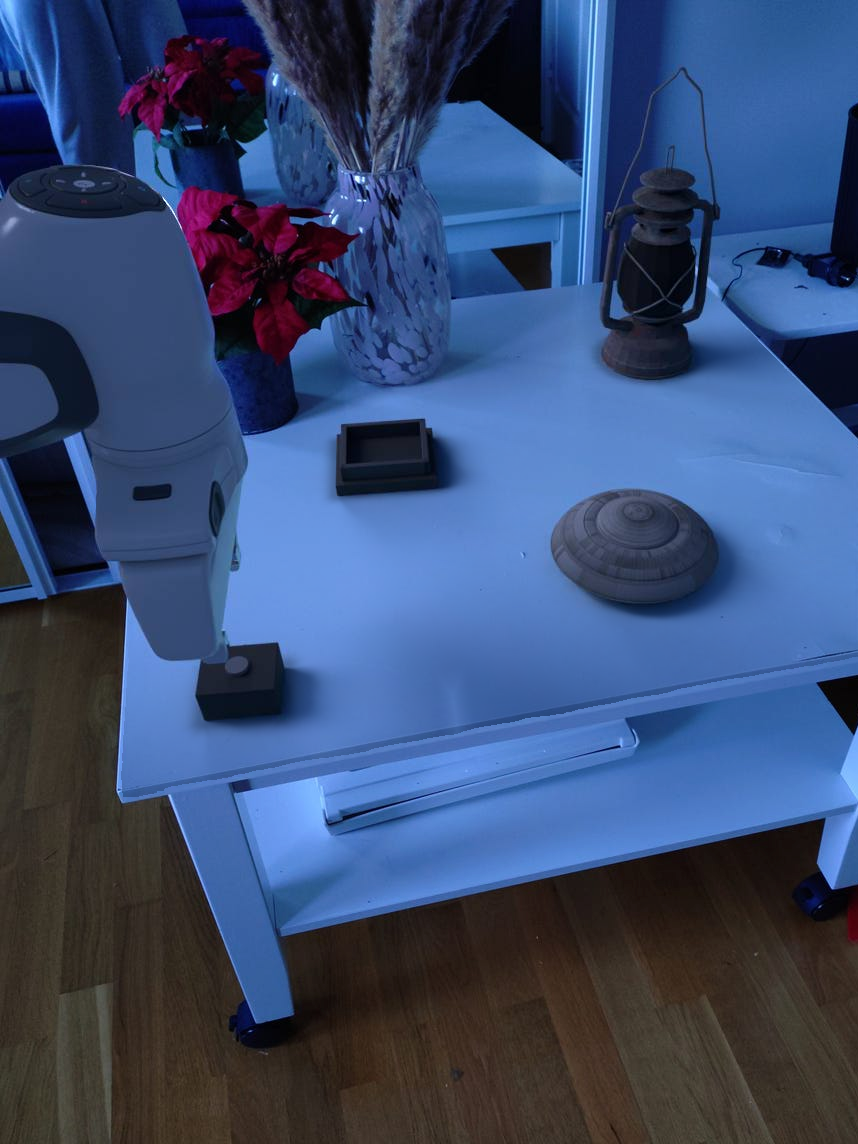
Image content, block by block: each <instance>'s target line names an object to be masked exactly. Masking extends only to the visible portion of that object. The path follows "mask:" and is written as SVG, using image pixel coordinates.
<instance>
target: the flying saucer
mask: <svg viewBox="0 0 858 1144" xmlns="http://www.w3.org/2000/svg"><path fill="white" fill-rule="evenodd" d="M550 551H551V556H552V558H553V561H554V563H555V564H556V566H557V567H558V569H559V571H561V573H562V574H563V575H564V576H565V577H566V578H567V579H568V580H570V581H571V582H572V583H573V584H575V585H576V586H578V587H579V588H581V589H583V590H584V591H586V592H588V593H590V594H593V595H595V596H597V597H600V598H603V599H606V600H610V601H614V602H619V603H626V604H635V605H636V604H641V605H643V604H645V605H646V604H659V603H665V602H668V601H669V602H670V601H673V600H676V599H680V598H682V597H685V596H688V595H689V594H691V593H693V592H695V591H696V590H698V589H700V588H701V587H702V586H704V585H705V584H706V583H707V582H708V580H709V579H710V578H711V577H712V576H713V574H714V572H715V571H716V570H717V566H718V563H719V560H720V559H719V558H720V549H719V543H718V541H717V538H716V536H715V533H714V531H713V529H712V528H711V527H710V526H709V524H708V523H707V522H706V520H705V519H704V517H702V516H701V515H700V514H699V513H698V512H697V511H695V510H694V508H692V507H690V505H688V504H686V503H685V502H683V501H682V500H679V499H677V498H675V497H673V496H671V495H668V494H666V493H663V492H659V491H655V490H650V489H644V488H616V489H610V490H606V491H603V492H602V491H601V492H599V493H595V494H593V495H590V496H589V497H586V498H584V499H582V500H581V501H579V502H578V503H576V504H575V505H573V506H572V507H571V508H569V509H568V510H567V511H566V512H565V513H564V514H563V515H562V516H561V518H560V519H558V521H557V523H556V524H555V526H554V528H553V529H552V533H551V537H550Z"/></svg>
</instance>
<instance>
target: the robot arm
mask: <svg viewBox="0 0 858 1144" xmlns="http://www.w3.org/2000/svg"><path fill="white" fill-rule="evenodd" d="M211 313H212V312H211V309H210V307H209V303H208V299H207V295H206V292H205V289H204V286H203V282H202V279H201V276H200V274H199V270H198V267H197V264H196V261H195V257H194V255H193V253H192V250H191V247H190V244H189V242H188V240H187V238H186V234H185V233H184V230H183V228H182V226H181V224H180V222H179V220H178V218H177V216H176V214H175V212H174V211H173V209H172V207H171V206H170V205H169V203H168V202H167V200H166V199H165V198H164V197H163V196H162V194H161V193H160V192H159V191H157V190H156V189H155V188H154V187H152V186H151V185H149V184H148V183H146V182H145V181H144V180H142V179H140V178H139V177H137V176H133V175H130V174H128V173H125V172H122V171H120V170H118V169H115V168H110V167H105V166H99V165H98V166H96V165H87V164H58V165H51V166H49V167H45V168H41V169H37V170H32V171H30V172H27V173H24V174H22V175H20V176H18V177H17V178H15V179H14V180H13V181H12V182H11V183H10V184H9V185H8V188H7V190H6V192H5V194H4V195H3V197H0V460H2V459H6V458H10V457H13V456H16V455H21V454H24V453H26V452H30V451H33V450H36V449H40V448H43V447H45V446H49V445H52V444H55V443H58V442H60V441H63V440H65V439H68V438H70V437H72V436H75V435H77V434H79V433H81V432H84V435H85V437H86V439H87V442H88V445H89V448H90V450H91V452H92V456H91V465H92V469H93V474H94V479H95V487H96V490H95V491H96V495H95V496H96V497H95V519H94V521H95V522H94V523H95V524H94V538H95V542H96V545H97V548H98V551H99V552H100V555H101V557H102V558H103V559H104V561H106V562H118V570H119V571H118V572H119V577H120V581H121V585H122V589H123V591H124V594H125V597H126V599H127V601H128V603H129V606H130V609H131V610H132V612H133V615H134V617H135V619H136V621H137V623H138V625H139V627H140V629H141V631H142V633H143V635H144V638H145V639H146V641H147V643H148V645H149V647H150V648H151V650H152V652H153V653H154V655H156V656H157V657H158V658H160V659H161V660H164V661H166V662H187V661H188V662H189V661H197V660H200V661H201V660H202V661H203V662H204V663H206V664H217V663H225V662H226V661H227V660H228V655H229V646H231V644H230V640H229V638H228V634H227V631H226V629H223V625H224V618H225V612H226V611H225V610H226V603H227V598H228V589H229V582H230V577H231V576H230V574H231V572H238V571H239V570H240V566H241V561H242V553H241V549H240V545H239V542H238V529H237V524H238V517H239V511H240V503H241V497H242V488H243V482H244V476H245V475H246V472H247V470H248V466H249V456H248V452H247V448H246V445H245V444H246V443H245V441H244V436H243V432H242V429H241V426H240V421H239V418H238V413H237V410H236V406H235V402H234V398H233V395H232V391H231V388H230V385H229V383H228V381H227V379H226V378H225V376H224V374H223V373H222V371H221V370H220V368H219V366H218V363H217V361H216V360H217V359H216V355H215V340H216V339H215V338H216V333H215V326H214V321H213V318H212V314H211Z"/></svg>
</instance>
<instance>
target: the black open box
mask: <svg viewBox="0 0 858 1144" xmlns="http://www.w3.org/2000/svg"><path fill="white" fill-rule="evenodd" d="M426 422H427V421H426V418H410V419H409V418H408V419H395V420H380V421H367V422H352V423H340V433H337V434H336V444H335V445H336V446H335V448H336V451H335V455H336V456H335V490H336V491H335V492H336V495H337V496H347V495H349V496H350V495H362V494H375V493H388V492H391V493H392V492H403V491H415V490H428V489H431V490H432V489H438V488H439V485H438V473H437V463H436V455H435V453H436V452H435V443H434V433H433V427H427V423H426Z"/></svg>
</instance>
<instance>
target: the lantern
mask: <svg viewBox="0 0 858 1144" xmlns="http://www.w3.org/2000/svg"><path fill="white" fill-rule="evenodd" d="M681 71H682V72H683V75H684V78H685V79H686V80H687V81H688V82H689V83H690V84H691V85H692V86H693V87H694V89H696V91H697V92H698V94H699V103H700V114H701V126H702V137H703V138H702V139H703V150H704V154H705V157H706V161H707V165H708V169H709V178H710V184H711V194H712V201H713V202H712V203H711V202H709V201H708V200H707V199H705V198H703V199H702V198H699V195H698V192H696V191H694V190H693V189H692V188H691V187H693V186H694V185H695V183H696V181H697V180H696V178H695V176H694V175H693V174H692V173H691V172H688V171H687V170H684V169H681V168H678V167H677V168H675V167H674V160H675V150H676V146H675V145H674V144H673V145H670V146H669V147H668V148H667V150H666V158H665V166H664V167H656V168H652V169H649V170H647V171H645V172H643V173H642V174H641V175H639V181H640V183H641V184H642V185H644V186H641V187H638V188H636V189H635V191H634V192H633V193H632V196H631V197H632V201H633V202H634V203H630V204H626V205H622V206H620V207H619V205H620V203H621V199H622V196H623V194H624V191H625V189H626V186H627V183H628V181H629V178H630V175H631V173H632V170H633V168H634V166H635V164H636V162H637V161H638V158H639V156H640V154H641V152H642V149H643V146H644V142H645V137H646V132H647V127H648V123H649V119H650V113H651V110H652V104H653V99H654V97H655V95H657V94H658V93H659V92H660V91H661V90H663V89H664V88H665V87H666V86H667V85H668V84H670V83H671V82H673V80H675V79H676V78H677V77H678V75H679V73H680V72H681ZM703 93H704V92H703V90H702V89H701V87H700V86H699V85H698V84H697V83H696V82H695V81H694V80H693V79H692V77H690V76H689V74H688V70H687V69H686V67H685V66H681V67H678V68H677V70H676V72H675V73H674V75H673V76H671V77H670V78H669V79H667V80H666V81H665V82H664V83H662V85H660V86H659V87H658V88H656V89H655V90H654V91H653V92H652V93H651V95H650V98H649V101H648V107H647V111H646V116H645V121H644V124H643V130H642V135H641V139H640V144H639V148H638V150H637V152H636V154H635V156H634V158H633V159H632V162H631V165H630V167H629V169H628V171H627V174H626V176H625V179H624V182H623V184H622V187H621V189H620V193H619V195H618V198H617V201H616V203H615V207H614V209H613V211H612V212H611V211H607V212H606V215H605V219H604V229H605V230H606V231H609V238H608V244H607V253H606V259H605V265H604V266H605V267H604V273H603V281H602V288H601V295H600V301H599V320H600V322H601V324H602V326H603V328H605V329H608V330H610V332H609V334H608V336H607V337H606V338H605V339H604V342H603V346H602V348H601V350H600V351H601V352H600V357H601V360H602V362H603V364H605V366H606V367H608V368H609V369H610V370H611V371H613V372H615V373H617V374H620V375H621V376H625V377H628V378H633V379H638V380H662V379H666V378H667V379H668V378H672V377H675V376H677V375H680V374H682V373H683V372H685V371H687V370H688V369H689V367H690V366H691V365H692V362H693V353H692V348H693V347H692V345H691V342H690V341H689V332H688V328H687V327H686V326H685V324H689V323H692V322H694V321H696V320H699V318H700V317H701V315H702V313H703V311H704V307H705V303H706V297H707V288H708V277H709V266H710V256H711V246H712V239H713V238H712V236H713V226H714V222H716V221H719V220H720V219H721V207H720V206H719V204H718V202H717V196H716V189H715V180H714V179H715V178H714V171H713V165H712V161H711V158H710V154H709V150H708V144H707V143H708V142H707V130H706V119H705V107H704V95H703ZM670 150H672V152H671V159H670V160H671V161H670V167H668V165H669V156H670ZM694 210H700V211H702V212H703V215H702V216H703V218H702V227H701V228H702V229H701V236H700V247H699V255H697V254H698V252H697V250H696V246H694V244H692V242H691V236H692V231H691V228H690V227H689V226H687V225H688V224H690V223H691V222H693V219H694V217H695V211H694ZM632 215H633V219H634V220H635V222H636V221H637V223H635V224H634V226H633V227H631V235H630V237H629V239H628V241H626V242H624V243H623V246H624V247H623V250H622V251H621V253H620V257H619V263H618V267H617V274H615V273H616V266H617V257H618V250H619V243H620V235H621V228H622V223H623V220H625V219H626V218H627V217H629V216H632ZM697 256H698V264H696V263H697ZM696 265H697V266H696ZM696 267H697V273H696ZM696 274H697V275H696ZM615 275H616V285H615V286H616V293H617V295H618V297H619V298H620V301H621V302H622V303H621V307H622V309H623V310H624V312H625V313H627V314H628V315H626V316H622V317H620V318H619V319H617V318H614V317H611V306H612V298H613V297H612V296H613V290H614V283H615V282H614V281H615ZM695 280H696V281H695ZM694 286H695V287H694ZM694 288H695V289H694ZM694 290H695V291H694ZM693 293H695V294H694V298H693V302H692V307H691V308H690V309H688V310H686V311H684V312H683V310H684V305H685V304H686V303H687V302H688V300H690V297H691V296H692V295H693Z"/></svg>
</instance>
